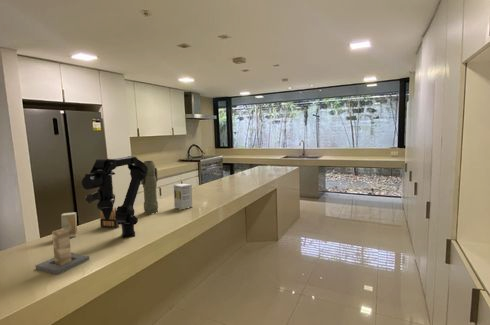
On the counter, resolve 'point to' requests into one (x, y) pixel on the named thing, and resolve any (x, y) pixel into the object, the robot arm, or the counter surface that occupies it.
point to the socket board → (55, 269)
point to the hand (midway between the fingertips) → (107, 218)
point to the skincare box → (69, 223)
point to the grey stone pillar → (150, 188)
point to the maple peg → (61, 246)
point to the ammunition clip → (112, 220)
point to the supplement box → (183, 196)
